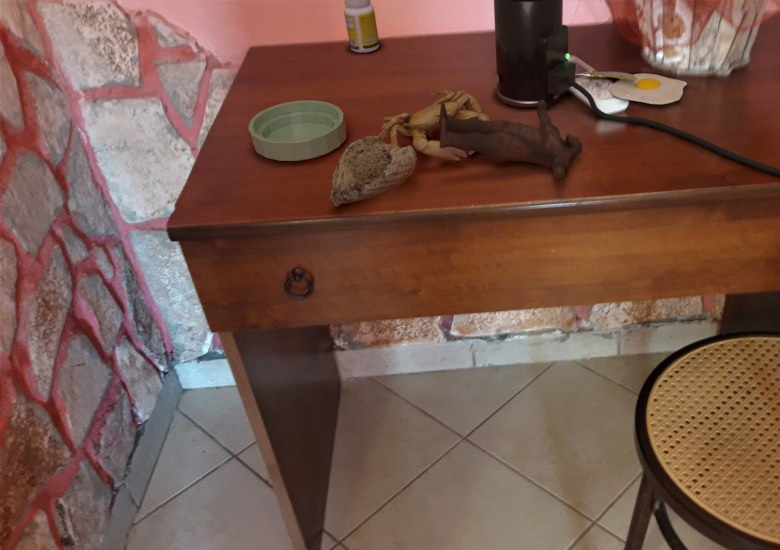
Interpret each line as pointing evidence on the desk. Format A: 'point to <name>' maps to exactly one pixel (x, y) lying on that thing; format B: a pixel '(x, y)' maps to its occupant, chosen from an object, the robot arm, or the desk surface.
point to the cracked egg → (649, 89)
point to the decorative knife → (613, 75)
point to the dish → (298, 130)
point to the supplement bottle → (361, 25)
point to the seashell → (371, 170)
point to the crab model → (433, 124)
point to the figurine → (511, 140)
